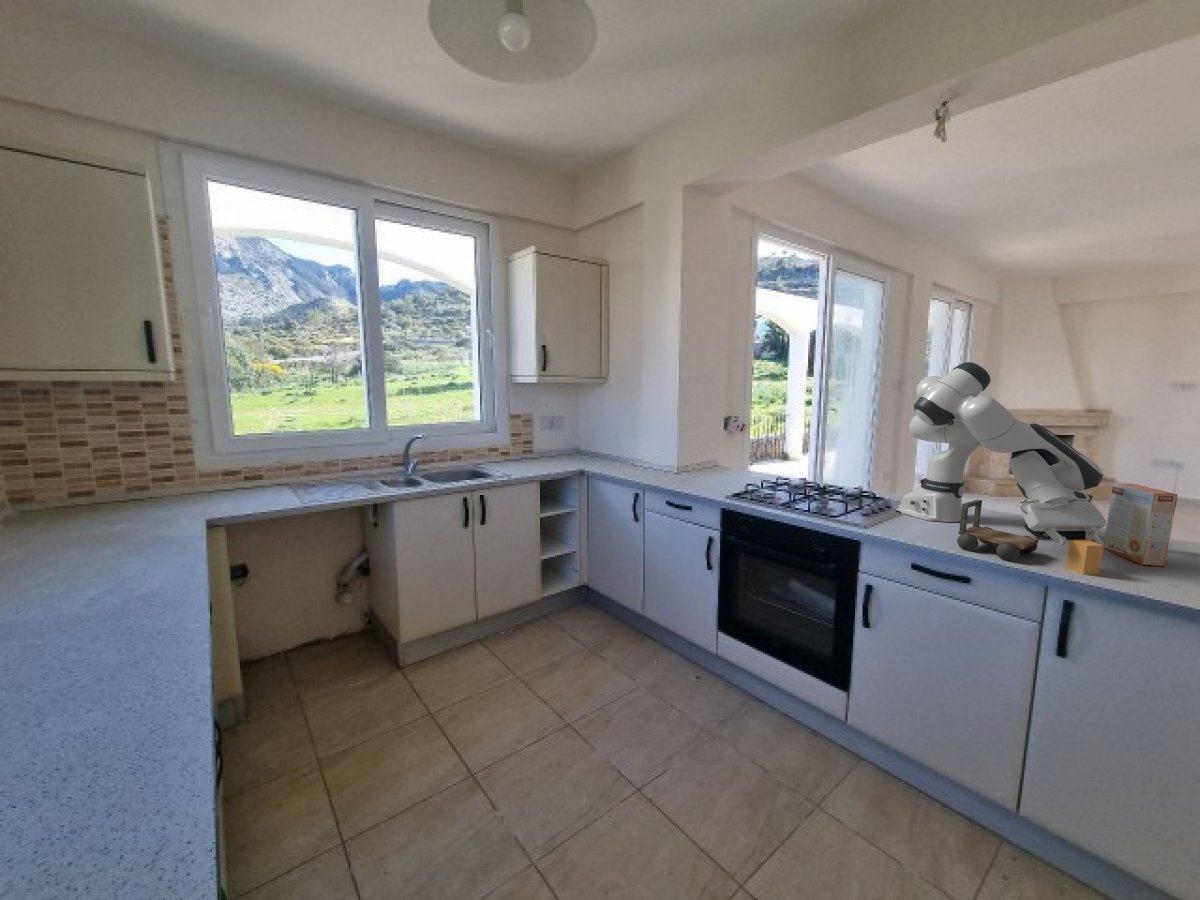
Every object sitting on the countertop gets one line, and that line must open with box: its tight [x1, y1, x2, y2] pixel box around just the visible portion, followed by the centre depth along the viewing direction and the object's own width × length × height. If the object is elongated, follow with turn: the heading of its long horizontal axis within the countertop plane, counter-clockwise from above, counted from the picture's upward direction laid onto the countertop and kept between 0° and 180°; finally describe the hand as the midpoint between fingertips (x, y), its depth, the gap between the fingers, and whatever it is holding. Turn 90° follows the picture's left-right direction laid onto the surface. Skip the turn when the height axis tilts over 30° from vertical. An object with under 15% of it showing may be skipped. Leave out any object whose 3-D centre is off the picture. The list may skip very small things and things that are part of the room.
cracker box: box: [1102, 482, 1179, 567], centre depth 143 cm, size 14×6×21 cm, turn 168°
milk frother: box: [1023, 493, 1094, 541], centre depth 161 cm, size 14×16×15 cm
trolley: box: [956, 499, 1039, 562], centre depth 148 cm, size 16×14×14 cm
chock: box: [1065, 539, 1104, 575], centre depth 134 cm, size 5×5×8 cm
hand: (1079, 543), depth 134 cm, fingers open, 8 cm apart
